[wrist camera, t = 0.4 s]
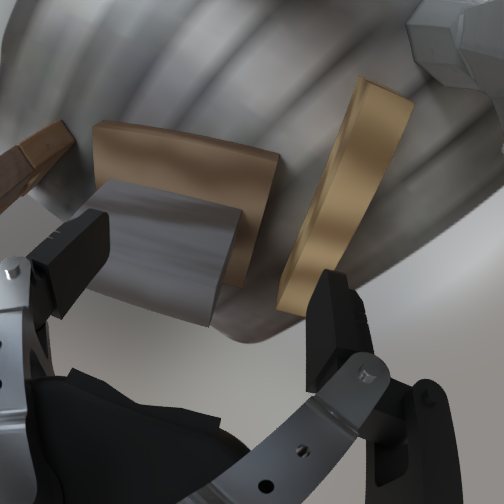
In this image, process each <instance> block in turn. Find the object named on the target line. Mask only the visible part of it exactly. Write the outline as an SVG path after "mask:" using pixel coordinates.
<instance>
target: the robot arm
mask: <svg viewBox="0 0 504 504" xmlns="http://www.w3.org/2000/svg"><path fill="white" fill-rule="evenodd" d="M109 254H110V222H109V214H108V213H107V212H103V211H100V210H96V209H92V208H89V209H87V210H86V211H85V212H84V213H82V214H81V215H80V216H79V217H77V218H74V219H72V220H70V221H67V222H65V223H63V224H62V225H61V226H60V227H59V228H58V229H56V231H55V232H53V233H52V234H51V235H49V238H46V239H45V240H44V241H43V242H42V243H40V244H39V245H38V246H37V247H36V248H35V249H34V250H33V251H32V252H31V253H29V254H28V255H27V256H26V257H22V256H13V257H9V258H7V259H5V260H3V261H2V262H1V263H0V504H301V503H302V502H303V501H304V500H305V499H306V498H307V497H308V496H309V495H310V494H311V493H312V492H313V491H314V490H315V488H316V487H317V486H318V485H319V484H320V483H321V482H322V481H323V480H324V478H325V477H326V476H327V475H328V474H329V473H330V471H331V470H332V469H333V468H334V467H335V465H336V464H337V463H338V462H339V461H340V459H341V458H342V457H343V456H344V454H345V453H346V452H347V450H348V449H349V448H350V446H351V445H352V444H353V442H354V441H355V440H356V438H357V437H361V438H363V439H366V495H365V497H366V498H365V504H463V494H462V493H463V492H462V482H461V472H460V464H459V457H458V450H457V444H456V438H455V433H454V427H453V422H452V417H451V412H450V407H449V403H448V399H447V395H446V393H445V392H444V390H443V389H442V388H441V386H440V385H439V384H437V383H436V382H434V381H432V380H429V379H421V380H419V381H418V382H417V383H416V384H414V385H413V386H412V387H411V386H409V385H406V384H404V383H402V382H399V381H397V380H395V379H393V378H391V377H390V372H389V369H388V367H387V366H386V364H385V363H384V362H383V361H382V360H381V359H380V358H378V357H377V356H375V355H374V350H373V345H372V340H371V335H370V330H369V326H368V324H367V317H366V314H365V309H364V304H363V301H362V299H361V298H360V297H359V295H358V294H357V292H356V291H355V290H351V289H349V287H348V282H347V277H346V274H345V273H341V272H337V271H333V270H329V269H324V270H323V272H322V274H321V276H320V278H319V280H318V283H317V285H316V287H315V289H314V292H313V294H312V296H311V298H310V301H309V303H308V306H307V311H306V392H310V393H316V395H315V396H311V397H310V398H309V399H308V400H307V401H306V402H305V403H304V404H303V405H302V406H301V407H300V408H299V409H298V410H296V411H295V412H294V413H293V414H292V415H291V416H290V417H289V418H288V419H287V420H286V421H285V422H284V423H283V424H282V425H280V426H279V427H278V428H277V429H276V430H275V431H274V432H273V433H272V434H270V435H269V436H268V437H267V438H266V439H265V440H263V441H262V442H261V443H260V444H259V445H258V446H256V447H255V448H254V449H253V450H252V451H251V450H250V449H249V448H247V446H246V445H245V444H243V443H242V442H241V441H240V440H238V439H237V438H236V437H235V436H233V435H231V434H230V433H228V432H227V431H224V430H222V429H220V428H219V426H220V421H221V418H218V417H214V416H210V415H205V414H202V413H198V412H194V411H190V410H187V409H183V408H175V407H162V406H151V405H141V404H138V403H135V402H134V401H132V400H130V399H129V398H127V397H126V396H124V395H123V394H122V393H120V392H119V391H117V390H116V389H114V388H113V387H111V386H110V385H109V384H107V383H106V382H104V381H102V380H99V379H97V378H95V377H92V376H90V375H88V374H85V373H83V372H81V371H79V370H76V369H74V368H72V369H71V371H70V372H69V374H68V376H67V377H65V376H55V374H54V370H53V365H52V358H51V348H50V338H49V326H48V322H47V319H48V318H49V316H50V315H52V316H54V317H56V318H59V319H61V320H62V319H63V317H64V316H65V315H66V313H67V312H68V310H69V309H70V308H71V306H72V305H73V304H74V303H75V301H76V300H77V298H78V297H79V296H80V295H81V293H82V292H83V291H84V290H85V288H86V287H87V286H88V284H89V283H90V282H91V281H92V279H93V278H94V277H95V276H96V274H97V273H98V272H99V271H100V270H101V268H102V267H103V266H104V265H105V263H106V262H107V260H108V258H109Z"/></svg>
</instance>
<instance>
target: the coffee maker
mask: <svg viewBox="0 0 504 504" xmlns="http://www.w3.org/2000/svg"><path fill="white" fill-rule="evenodd" d="M405 25H406V29H407V33H408V37H409V41H410V45H411V49H412V54H413V58H414V61H415V62H416V63H417V64H418V65H419V66H421V67H422V68H423V69H424V70H425V71H427V72H428V73H429V74H430V75H431V76H432V77H433V78H435V79H436V80H437V81H438V82H439V83H440V84H441V85H442V86H449V87H459V88H467V89H474V90H481V91H483V92H484V93H485V94H487V95H488V96H489V97H490V98H491V99H492V102H493V104H494V107H495V110H496V113H497V116H498V119H499V122H500V125H501V128H502V131H503V135H504V0H488V1H486V2H485V3H483V4H476V3H470V2H465V1H459V0H422V1H421V2H420V4H419V5H418V6H417V8H416V9H415V11H414V12H413V14H412V15H411V17H410V18H409V19H408V21H407V22H406V24H405ZM501 152H502V153H503V154H504V143H503V146H502V149H501Z"/></svg>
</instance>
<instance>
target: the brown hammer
mask: <svg viewBox="0 0 504 504" xmlns="http://www.w3.org/2000/svg"><path fill="white" fill-rule="evenodd" d="M74 143H75V139H74V138H73V136H72V135H71V133H70V132H69V130H68V129H67V128H66V126H65V125H64V123H63V122H62V120H57V121H55V122H54V123H52V124H50V125H48V126H46V127H45V128H43V129H41V130H40V131H38V132H36V133H34V134H33V135H31V136H30V137H28V138H26V139H25V140H23V141H22V142H20V143H18V145H15V146H14V147H12V148H11V149H9V150H8V151H6V152H5V153H3V154H2V155H0V215H1V214H2V213H3V211H5V210H6V209H7V208H8V207H9V206H10V205H11V204H12V203H13V202H15V201H16V200H17V199H18V198H19V197H20V196H24V195H25V194H27V193H28V192H29V191H30V190H31V189H32V188H34V187H35V186H36V185H37V184H38V183H39V182H40V181H41V179H42V178H43V177H44V176H45V175H46V174H47V172H48V171H49V170H50V169H51V168H52V167H53V166H54V164H55V163H56V162H57V161H58V160H59V159H60V157H62V156H63V155H64V154H65V153H66V151H67V150H68V149H69V148H70V147H71V146H72V145H73V144H74Z"/></svg>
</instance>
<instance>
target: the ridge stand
mask: <svg viewBox="0 0 504 504" xmlns="http://www.w3.org/2000/svg"><path fill="white" fill-rule="evenodd" d="M92 133H93V158H94V173H95V185H96V192H95V193H94V194H93V195H92V196H91V197H90V198H89V199H88V200H87V201H86V202H85V203H84V204H83V205H82V206H81V207H80V208H79V209H78V210H77V211H76V212H75V213H74V214H73V216H72V217H71V218H70V219H69V220H68V221H70V220H72V219H74V218H77V217H79V216H80V215H81V214H82V213H84V212H85V211H86V210H87V209H89V208H92V209H96V210H100V211H103V212H107V213H108V214H109V222H110V254H109V258H108V260H107V262H106V263H105V265H104V266H103V267H102V268H101V270H100V271H99V272H98V273H97V274H96V276H95V277H94V278H93V279H92V281H91V282H90V283H89V284H88V286H87V287H86V288H87V289H90V290H93V291H95V292H98V293H101V294H103V295H106V296H109V297H112V298H115V299H118V300H121V301H124V302H127V303H130V304H132V305H136V306H139V307H142V308H145V309H148V310H151V311H154V312H157V313H160V314H164V315H167V316H170V317H174V318H177V319H180V320H184V321H187V322H191V323H194V324H198V325H201V326H205V327H209V325H210V322H211V319H212V316H213V312H214V309H215V306H216V303H217V299H218V296H219V293H220V290H221V287H222V283H223V284H226V285H230V286H234V287H238V288H242V289H243V286H244V282H245V278H246V275H247V271H248V268H249V264H250V260H251V257H252V253H253V250H254V246H255V242H256V239H257V235H258V231H259V228H260V224H261V221H262V217H263V213H264V210H265V206H266V203H267V199H268V195H269V192H270V188H271V185H272V181H273V177H274V174H275V170H276V167H277V163H278V158H279V154H278V153H274V152H270V151H266V150H262V149H258V148H254V147H250V146H246V145H242V144H238V143H233V142H229V141H224V140H220V139H215V138H210V137H205V136H201V135H195V134H190V133H185V132H180V131H174V130H168V129H162V128H156V127H150V126H143V125H136V124H129V123H122V122H114V121H105V120H103V121H101V122H100V123H98V124H96V125H94V126H93V127H92Z"/></svg>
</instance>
